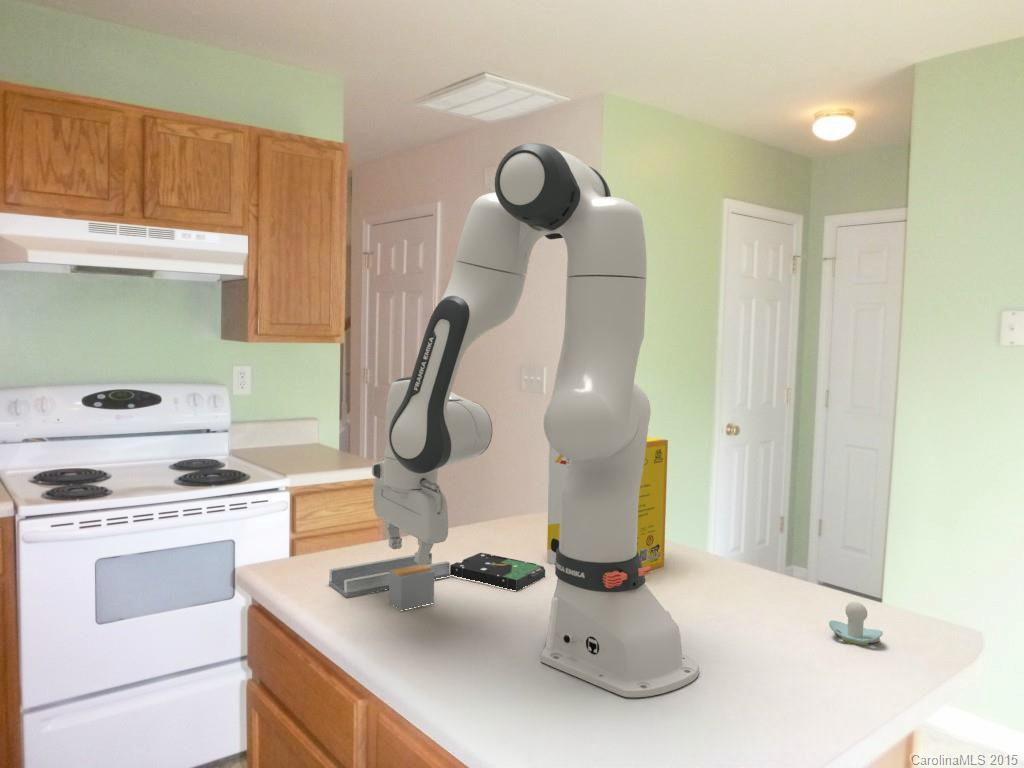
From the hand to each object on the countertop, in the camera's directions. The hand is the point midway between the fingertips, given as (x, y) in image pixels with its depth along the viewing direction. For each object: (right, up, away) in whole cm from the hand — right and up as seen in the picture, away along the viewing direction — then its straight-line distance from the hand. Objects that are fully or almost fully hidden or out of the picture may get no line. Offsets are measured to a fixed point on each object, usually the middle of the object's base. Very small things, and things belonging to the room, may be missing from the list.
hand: (407, 555), depth 125 cm
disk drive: (+15, -8, +15) cm, 22 cm away
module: (+1, -8, 0) cm, 8 cm away
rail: (-5, -7, +11) cm, 14 cm away
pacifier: (+69, -10, -11) cm, 71 cm away
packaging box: (+36, -7, +23) cm, 43 cm away
